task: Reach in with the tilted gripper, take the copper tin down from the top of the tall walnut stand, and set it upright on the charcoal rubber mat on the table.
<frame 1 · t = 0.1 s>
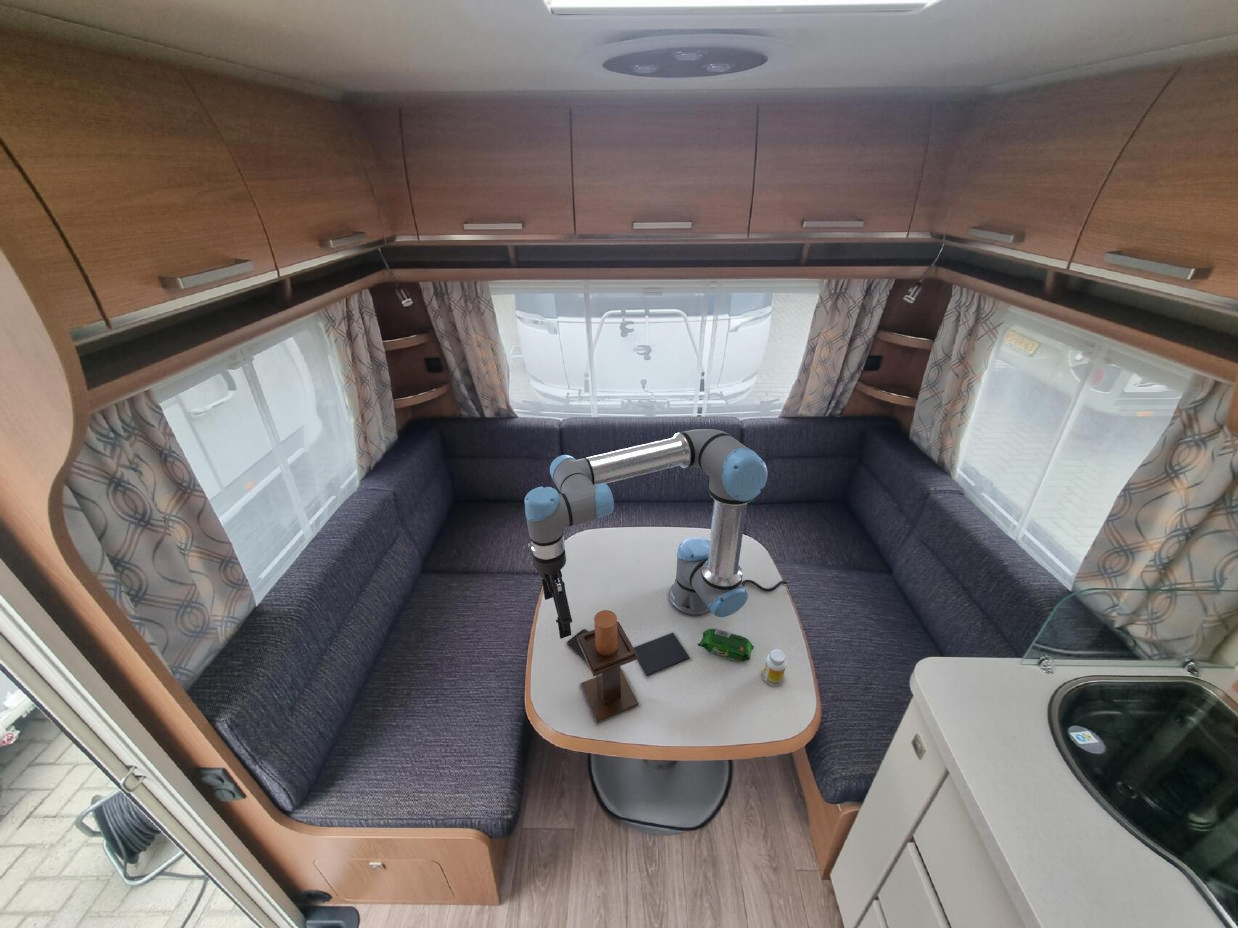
hand: (557, 615, 122), 28 cm above the table, tool pointing down, fingers open, 13 cm apart
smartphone: (592, 651, 146), on the table
supplement bottle: (772, 677, 137), on the table
snack package: (725, 651, 145), on the table
stand: (609, 695, 133), on the table
mat: (660, 653, 145), on the table
tin: (606, 646, 123), point 20 cm above the table, touching stand
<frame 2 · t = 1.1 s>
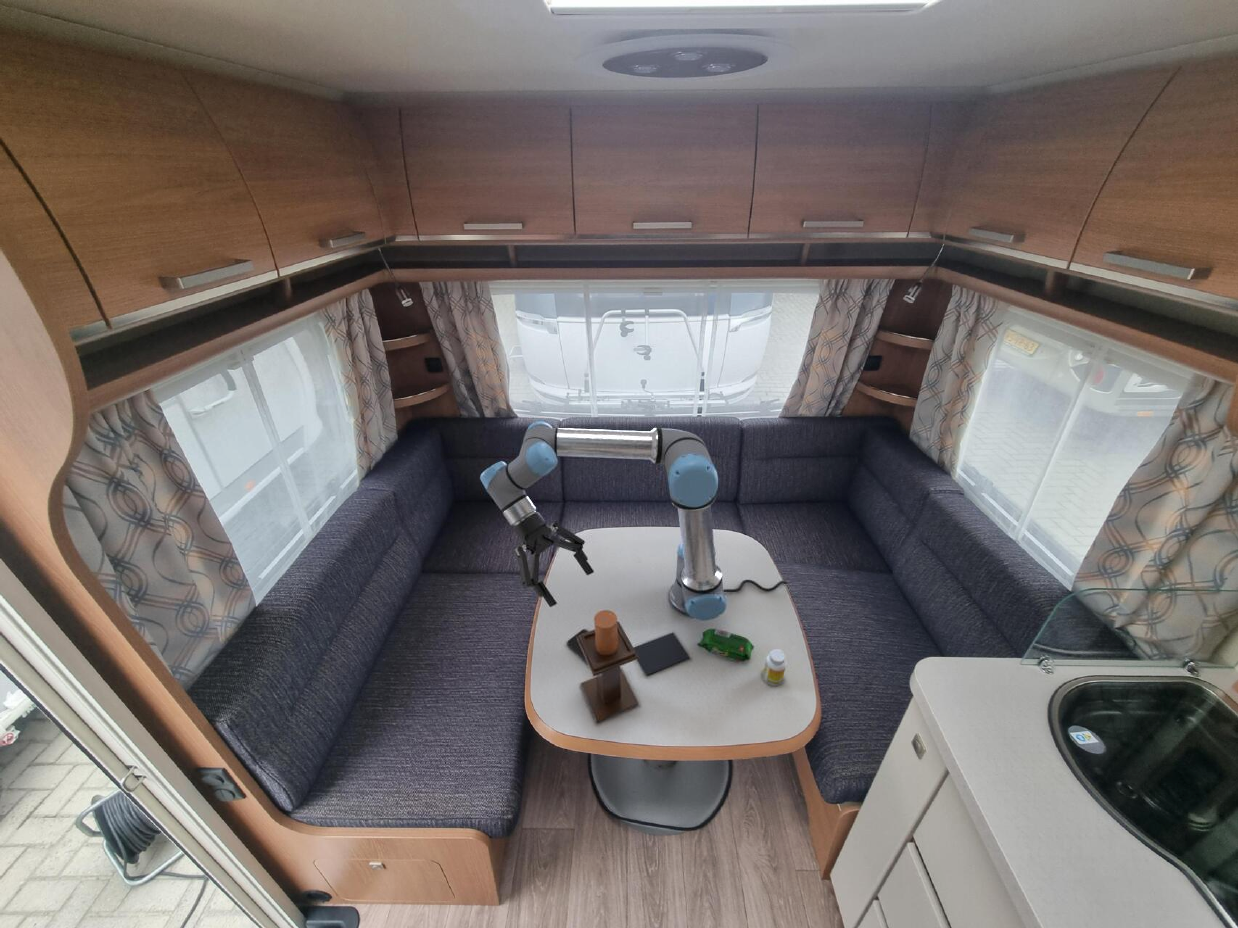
hand: (572, 588, 122), 34 cm above the table, tool tilted 45°, fingers open, 13 cm apart
nothing on the table moved.
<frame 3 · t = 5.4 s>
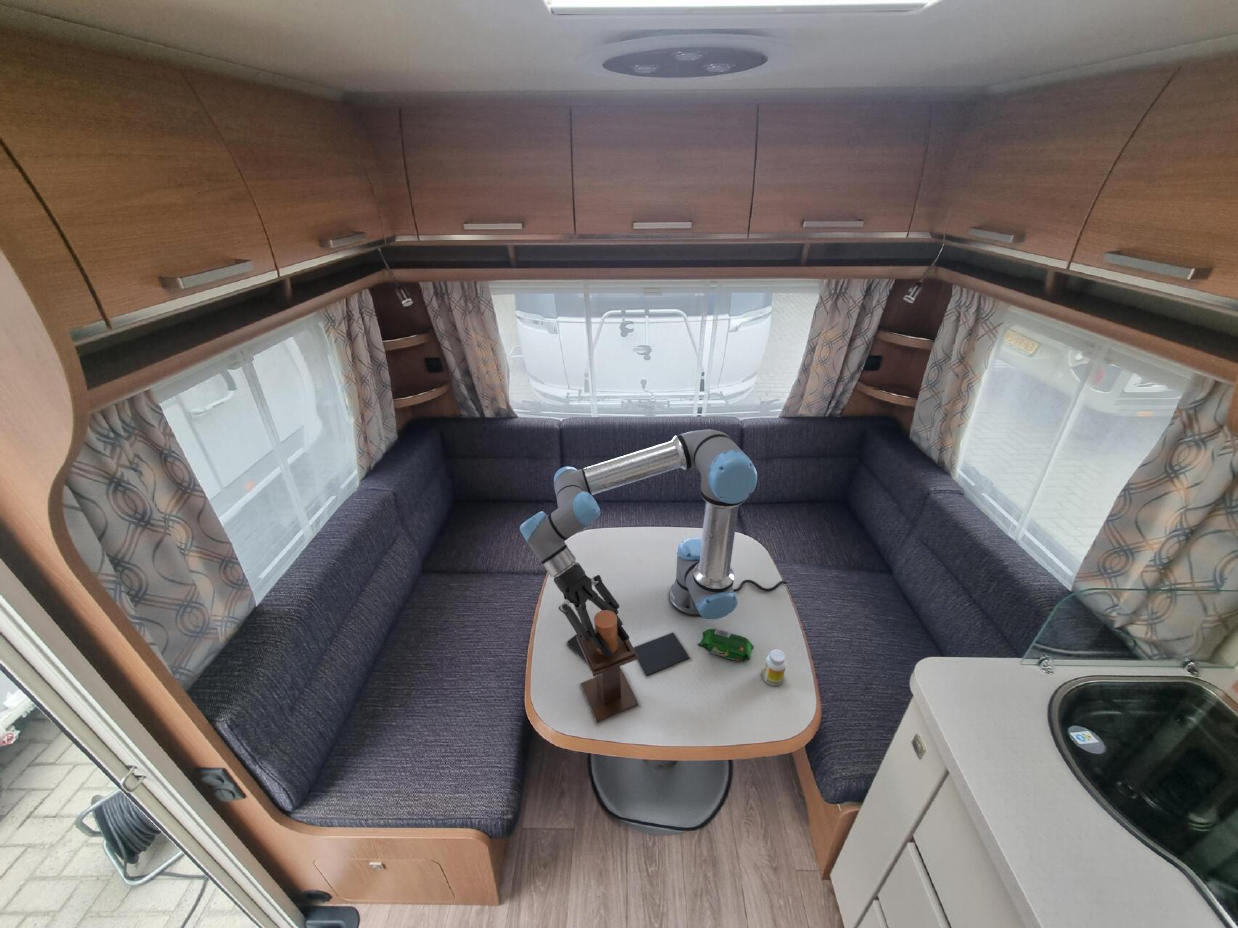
hand: (617, 647, 120), 22 cm above the table, tool tilted 45°, fingers closed on tin, 6 cm apart
tin: (606, 646, 123), point 20 cm above the table, touching gripper, stand
everything else where it was.
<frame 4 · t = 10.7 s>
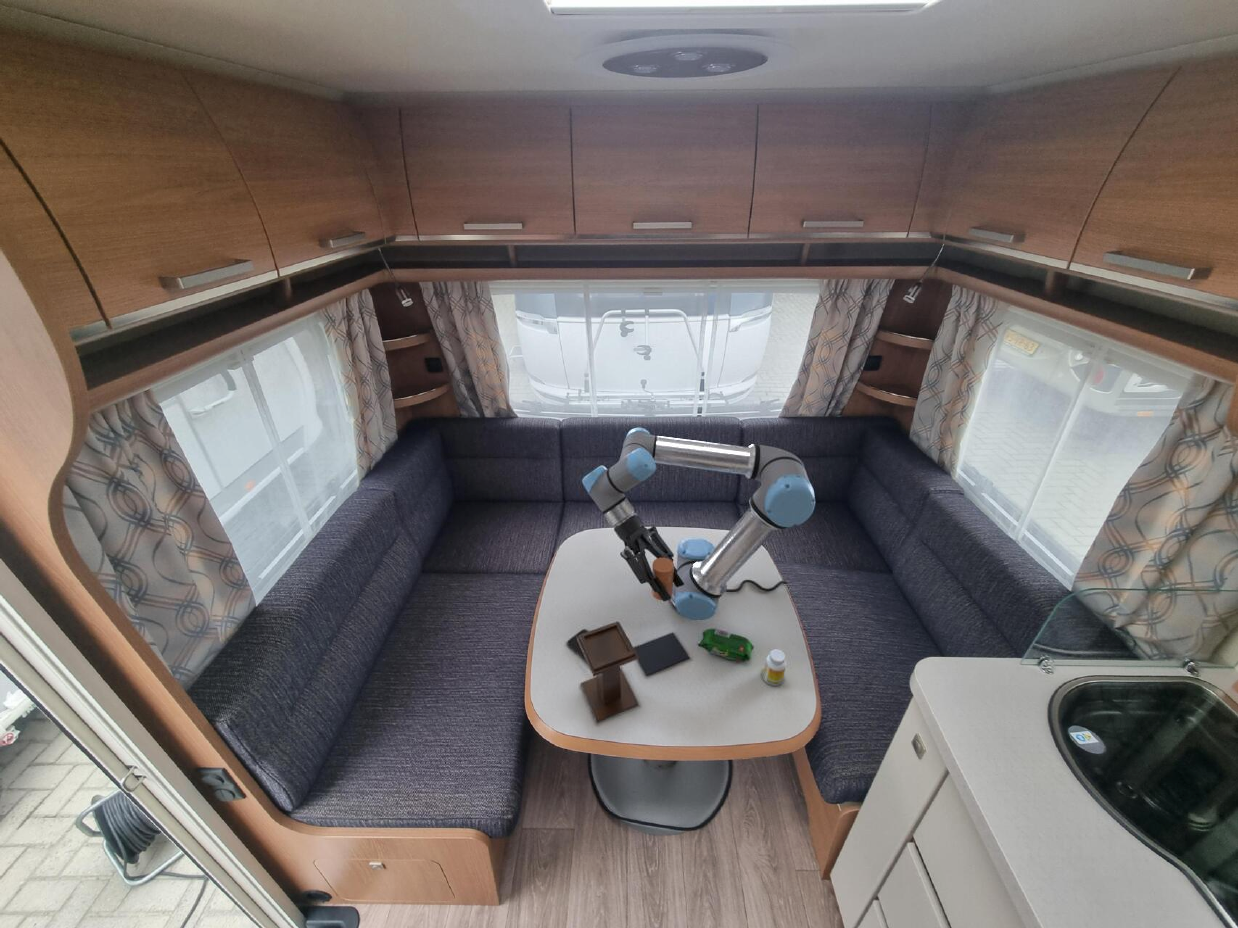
hand: (674, 592, 129), 28 cm above the table, tool tilted 45°, fingers closed on tin, 6 cm apart
tin: (662, 592, 132), point 25 cm above the table, touching gripper
everything else where it was.
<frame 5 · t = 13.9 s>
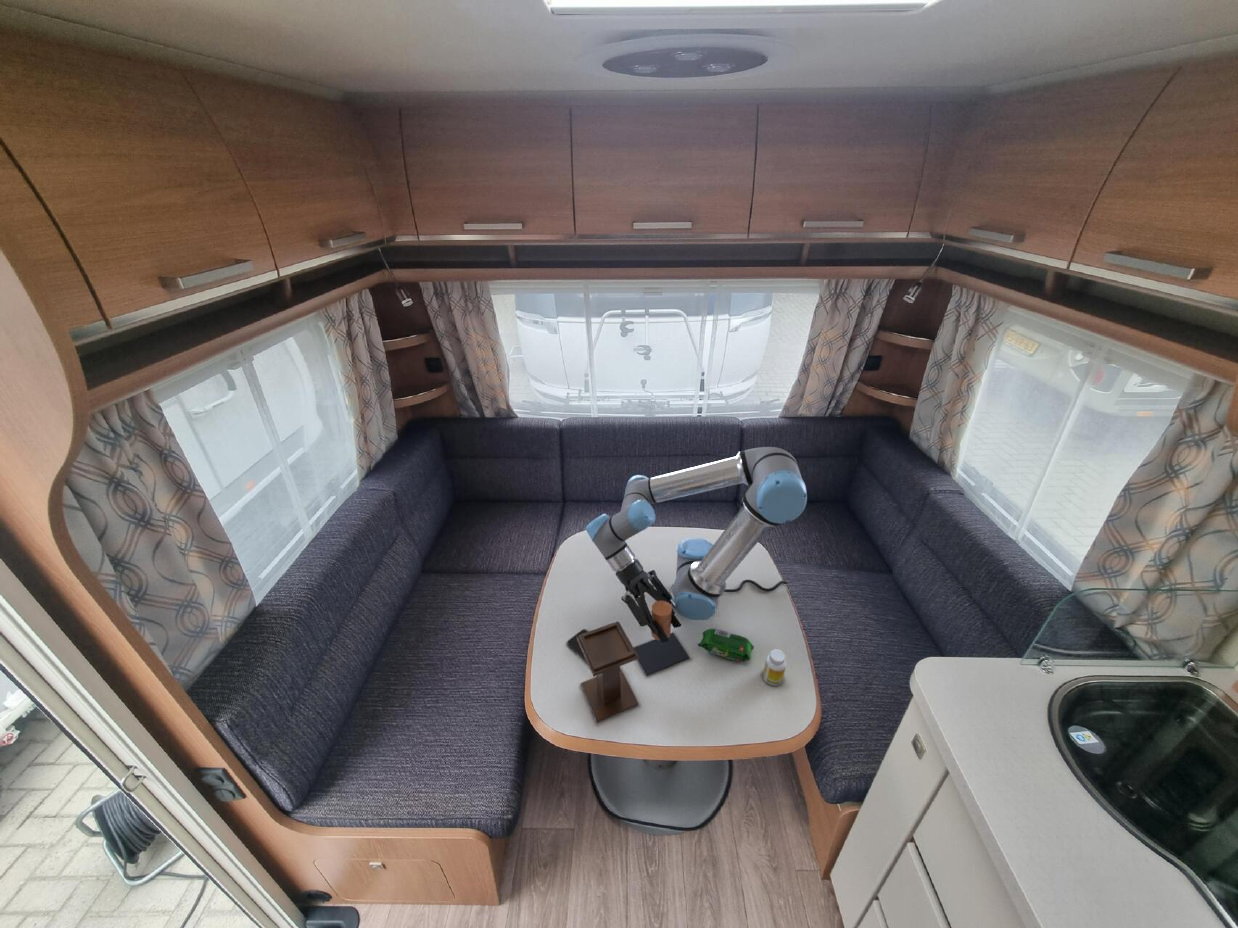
hand: (671, 633, 137), 12 cm above the table, tool tilted 45°, fingers closed on tin, 6 cm apart
tin: (660, 632, 140), point 9 cm above the table, touching gripper
everything else where it was.
when the fingers open (3 cm above the table, at t = 16.2 s): tin stays where it is, resting on mat.
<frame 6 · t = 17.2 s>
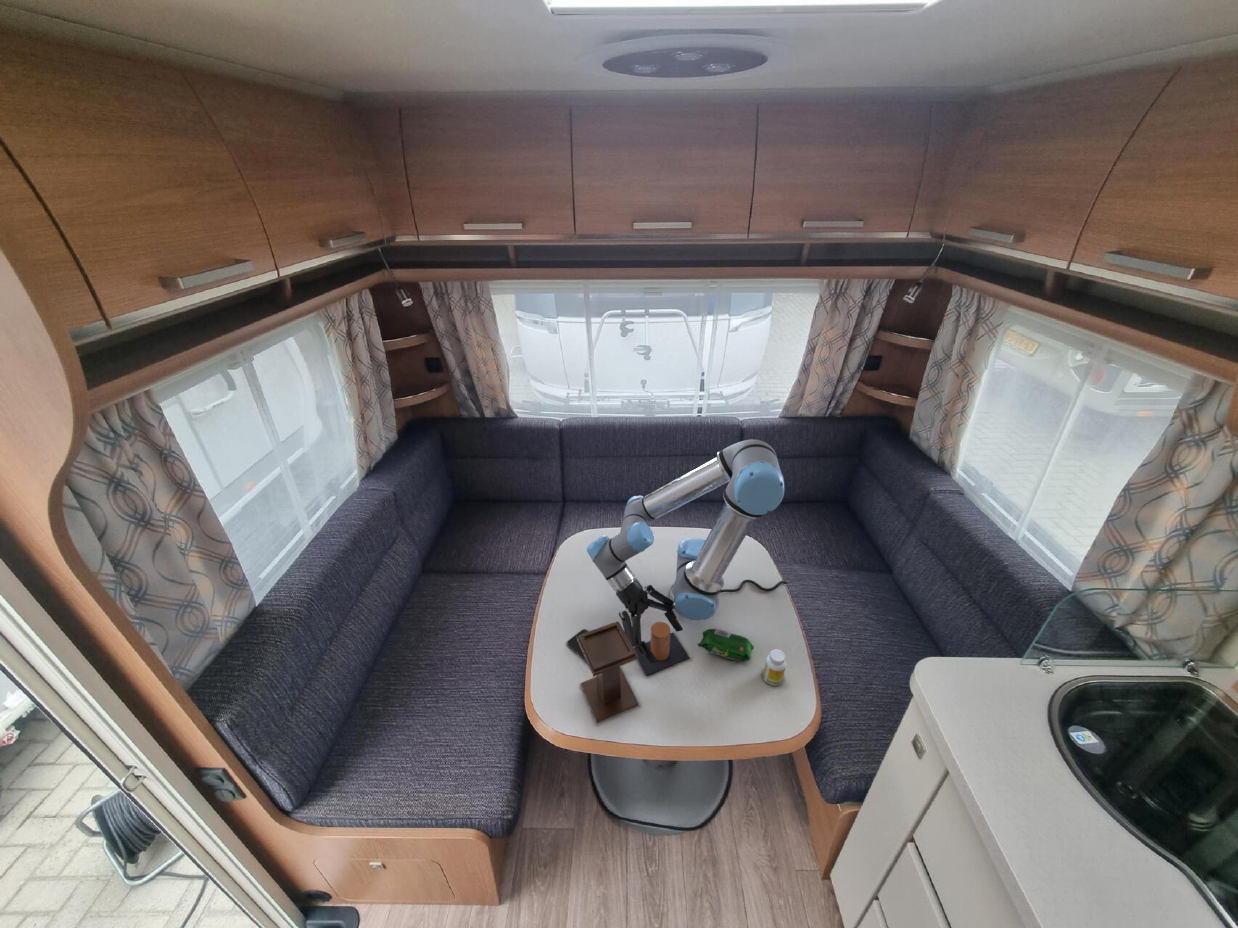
hand: (667, 645, 141), 5 cm above the table, tool tilted 45°, fingers open, 13 cm apart
tin: (659, 652, 144), point 1 cm above the table, touching mat
everything else where it was.
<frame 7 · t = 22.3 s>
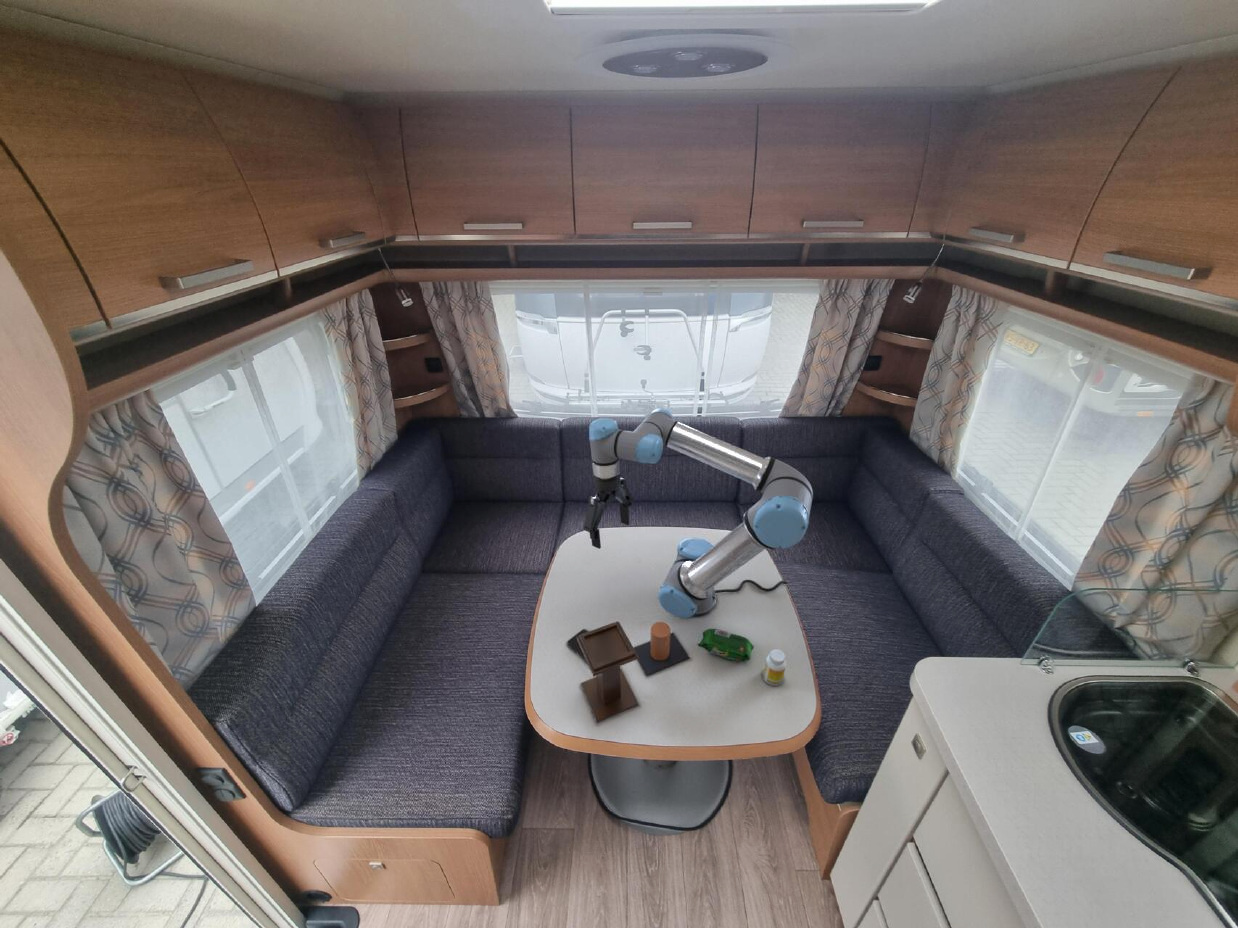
hand: (611, 534, 145), 30 cm above the table, tool pointing down, fingers open, 13 cm apart
nothing on the table moved.
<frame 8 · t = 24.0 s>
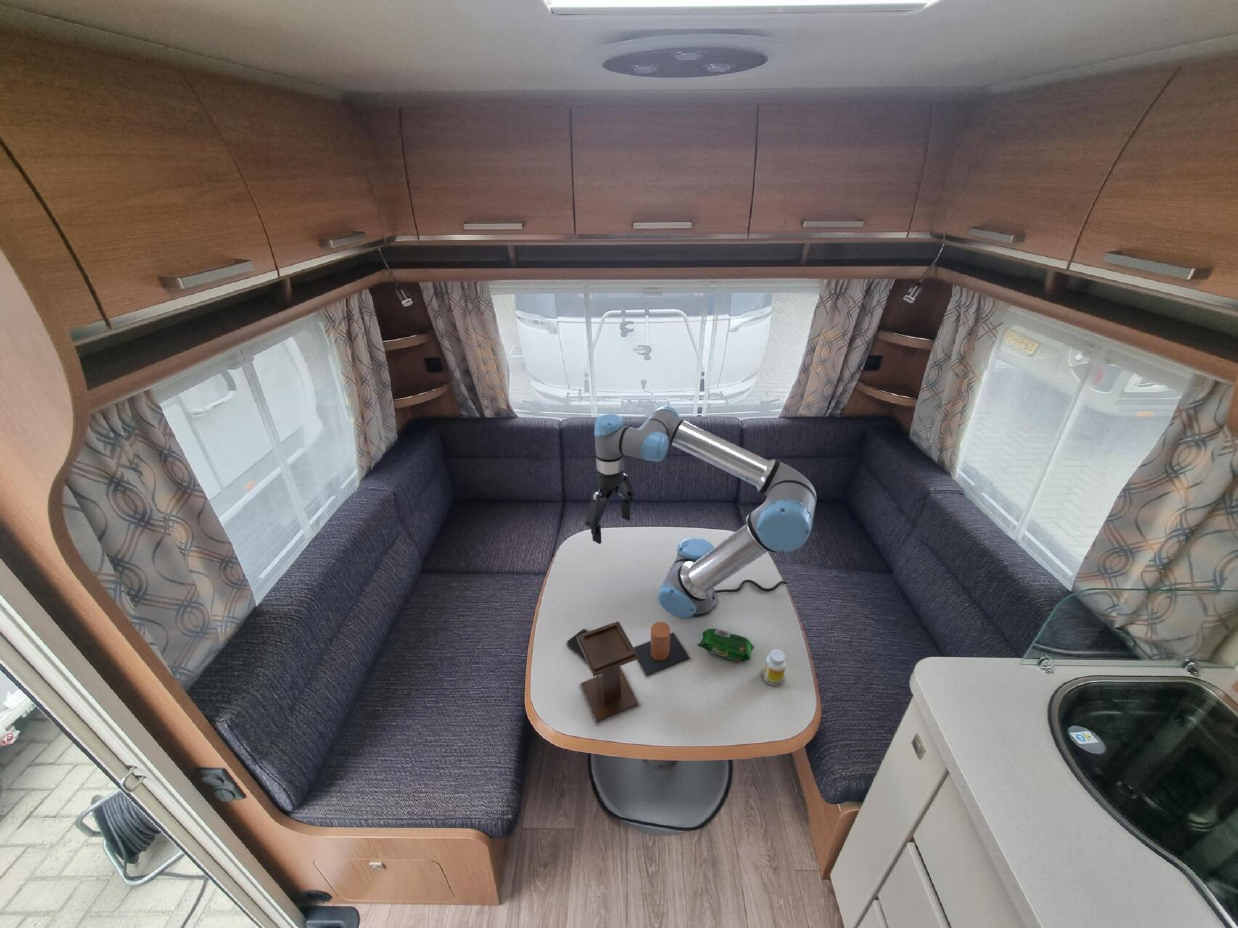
hand: (611, 530, 145), 32 cm above the table, tool pointing down, fingers open, 13 cm apart
nothing on the table moved.
at the end: tin inside the target area on the mat (0.1 cm from its centre), point 0.6 cm above the mat's base; tin tilted 0°; the gripper is holding nothing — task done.
